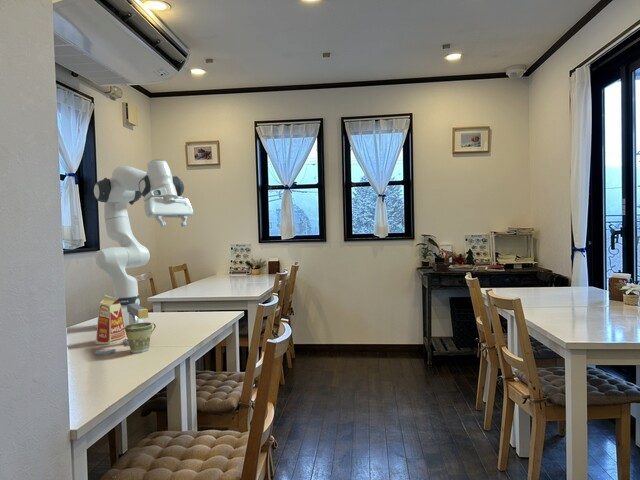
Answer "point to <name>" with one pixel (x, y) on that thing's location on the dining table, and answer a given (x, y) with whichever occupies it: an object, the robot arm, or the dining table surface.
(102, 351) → the label plate
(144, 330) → the ceramic cup
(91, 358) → the dining table surface
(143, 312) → the swing arm
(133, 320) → the post
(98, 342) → the milk carton
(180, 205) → the robot arm
